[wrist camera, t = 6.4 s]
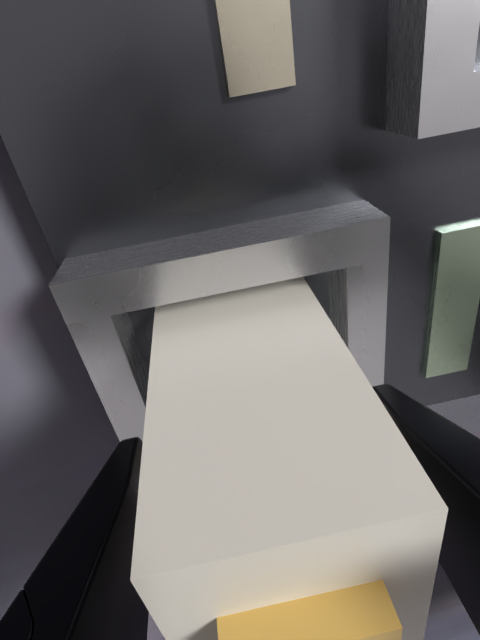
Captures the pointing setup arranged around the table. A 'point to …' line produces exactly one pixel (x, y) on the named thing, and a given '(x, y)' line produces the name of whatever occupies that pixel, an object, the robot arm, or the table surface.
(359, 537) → the plug
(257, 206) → the panel
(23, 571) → the table surface
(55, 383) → the table surface
